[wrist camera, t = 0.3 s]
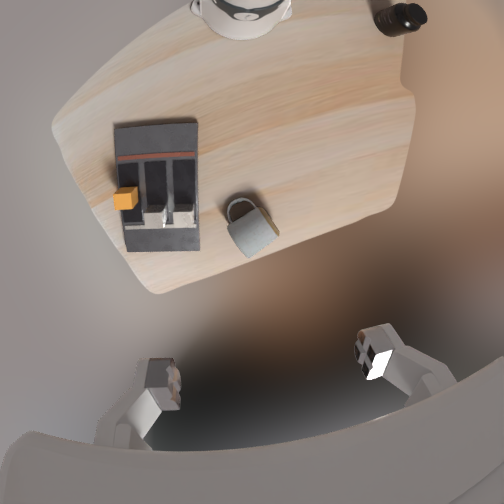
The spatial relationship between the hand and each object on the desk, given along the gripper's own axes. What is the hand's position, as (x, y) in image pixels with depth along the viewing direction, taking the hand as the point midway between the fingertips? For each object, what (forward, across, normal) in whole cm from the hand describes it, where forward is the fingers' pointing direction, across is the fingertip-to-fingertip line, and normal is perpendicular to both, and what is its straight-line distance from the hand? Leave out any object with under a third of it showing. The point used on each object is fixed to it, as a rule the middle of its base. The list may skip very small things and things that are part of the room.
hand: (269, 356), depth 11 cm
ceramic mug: (+46, -3, +13) cm, 48 cm away
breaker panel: (+46, +14, +4) cm, 48 cm away
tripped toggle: (+44, +20, +3) cm, 48 cm away
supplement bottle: (+46, -36, -32) cm, 67 cm away
